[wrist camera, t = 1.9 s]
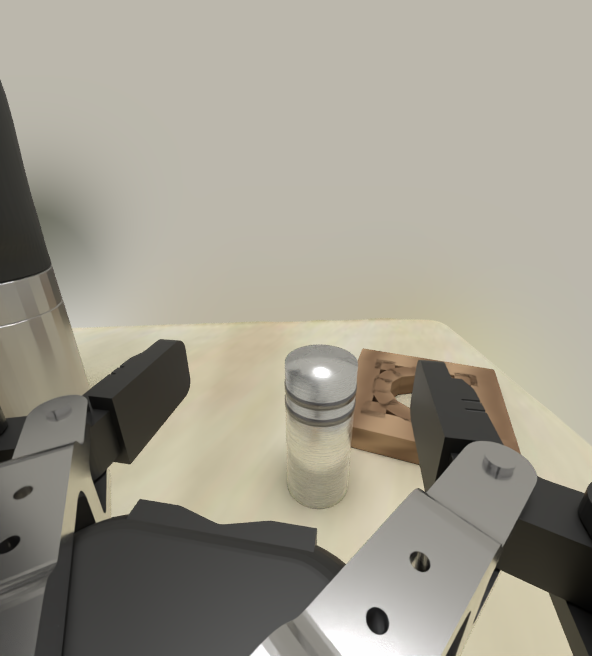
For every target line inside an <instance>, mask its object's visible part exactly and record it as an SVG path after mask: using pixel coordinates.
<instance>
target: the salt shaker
mask: <svg viewBox="0 0 592 656" xmlns="http://www.w3.org/2000/svg"><path fill="white" fill-rule="evenodd" d="M357 371H358V361H357V359H356V358H355V356H354V355H353V354H351V353H350V352H348V351H346V350H344V349H342V348H339V347H335V346H330V345H308V346H304V347H300V348H297V349H295V350H293V351H292V352H290V353H289V354H288V355H287V357H286V359H285V393H286V394H285V407H286V443H287V485H288V489H289V492H290V494H291V495H292V497H293V498H294V499H295V500H296V501H297V502H299V503H300V504H302V505H304V506H306V507H310V508H315V509H324V508H329V507H331V506H334V505H336V504H337V503H339V502H340V501H341V500H342V499H343V497H344V496H345V494H346V491H347V487H348V475H349V464H350V452H351V441H352V429H353V417H354V410H355V402H356V399H355V396H356V391H357Z"/></svg>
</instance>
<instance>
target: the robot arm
mask: <svg viewBox="0 0 592 656" xmlns="http://www.w3.org/2000/svg"><path fill="white" fill-rule="evenodd" d="M189 388H190V374H189V368H188V362H187V356H186V349H185V345H184V343H183V342H182V341H177V340H164V339H160V340H158V341H157V342H155V343H154V344H153V345H152V346H150V347H149V348H148V349H147V350H145V351H144V352H142V353H140V354H138V355H136V356H134V357H131V358H130V359H128V360H127V361H126V362H125V363H123V364H122V365H121V366H120V368H117V369H115V370H114V371H113V372H112V373H111V375H110V374H109V375H108V376H106V377H105V378H104V379H103V380H101V381H100V382H99V383H97V384H96V385H95V386H93V387H92V388H91V389H90V386H89V383H88V379H87V376H86V373H85V370H84V366H83V363H82V360H81V357H80V354H79V350H78V347H77V344H76V341H75V337H74V334H73V331H72V328H71V325H70V321H69V318H68V315H67V312H66V308H65V305H64V302H63V299H62V296H61V293H60V290H59V286H58V283H57V280H56V277H55V273H54V270H53V267H52V265H51V261H50V257H49V254H48V251H47V248H46V245H45V241H44V237H43V234H42V230H41V226H40V223H39V220H38V216H37V213H36V209H35V206H34V203H33V199H32V196H31V192H30V188H29V185H28V181H27V177H26V173H25V169H24V166H23V161H22V157H21V153H20V148H19V144H18V140H17V136H16V132H15V127H14V123H13V119H12V116H11V112H10V109H9V105H8V102H7V98H6V94H5V91H4V89H3V86H2V83H1V81H0V656H461V654H462V652H463V649H464V647H465V645H466V643H467V640H468V638H469V636H470V634H471V632H472V630H473V628H474V626H475V624H476V622H477V620H478V618H479V616H480V614H481V612H482V610H483V608H484V606H485V604H486V602H487V600H488V598H489V596H490V594H491V592H492V590H493V588H494V586H495V584H496V582H497V580H498V577H499V575H500V573H501V571H504V572H506V573H508V574H510V575H512V576H515V577H517V578H519V579H521V580H523V581H525V582H527V583H530V584H532V585H534V586H536V587H538V588H540V589H542V590H545V591H547V592H549V595H550V597H551V600H552V602H553V605H554V607H555V610H556V612H557V615H558V618H559V620H560V623H561V625H562V628H563V630H564V633H565V635H566V638H567V640H568V643H569V646H570V648H571V651H572V653H573V656H592V482H591V483H590V484H589V486H588V488H587V490H586V492H585V493H582V492H579V491H576V490H573V489H570V488H567V487H564V486H562V485H559V484H556V483H553V482H550V481H547V480H545V479H542V478H540V477H538V476H537V474H536V471H535V469H534V467H533V466H532V465H531V463H530V462H529V461H528V460H527V459H526V458H525V457H523V456H522V455H521V454H519V453H518V452H516V451H515V450H513V449H511V448H509V447H507V446H504V444H503V442H502V441H501V439H500V437H499V435H498V433H497V431H496V429H495V427H494V425H493V424H492V422H491V420H490V418H489V416H488V414H487V413H485V409H484V407H483V405H482V403H480V399H479V397H478V395H477V393H476V392H475V390H474V389H473V388H472V387H471V386H470V385H469V384H467V383H466V382H465V381H464V380H463V379H457V378H451V376H450V373H449V371H448V369H447V367H446V364H445V363H444V362H442V361H429V360H418V362H417V366H416V372H415V378H414V384H413V391H412V397H411V405H410V417H411V423H412V428H413V433H414V438H415V443H416V448H417V453H418V458H419V463H420V468H421V473H422V478H423V483H424V488H425V492H424V491H423V490H421V489H419V488H418V489H415V490H414V491H413V492H411V493H410V494H409V495H408V497H407V498H406V499H405V500H404V501H403V502H402V503H401V504H400V505H399V507H398V508H397V509H396V510H395V511H394V512H393V513H392V514H391V515H390V516H389V518H388V519H387V520H386V521H385V522H384V523H383V524H382V525H381V526H380V528H379V529H378V530H377V531H376V532H375V533H374V534H373V535H372V536H371V537H370V539H369V540H368V541H367V542H366V543H365V544H364V545H363V546H362V547H361V549H360V550H359V551H358V552H357V553H356V554H355V555H354V556H353V557H352V559H351V560H350V561H349V562H348V563H347V564H345V563H344V562H342V561H341V560H340V559H339V558H338V557H336V556H335V555H333V554H331V553H330V552H328V551H327V550H325V549H323V548H321V547H319V546H317V528H311V527H305V526H299V525H293V524H287V523H281V522H275V521H261V522H249V523H237V524H217V523H214V522H212V521H210V520H208V519H206V518H204V517H202V516H200V515H198V514H196V513H194V512H192V511H190V510H188V509H186V508H184V507H182V506H179V505H173V504H167V503H161V502H155V501H149V500H143V499H140V500H139V501H138V502H137V504H136V505H135V507H134V508H133V510H132V511H131V512H130V514H128V515H122V516H117V517H112V518H111V474H110V470H109V466H110V465H111V464H112V463H113V462H118V463H125V464H131V463H132V462H133V461H134V459H135V458H136V457H137V456H138V454H139V453H140V452H141V451H142V449H143V448H144V447H145V446H146V445H147V443H148V442H149V441H150V440H151V438H152V437H153V436H154V435H155V433H156V432H157V431H158V430H159V429H160V427H161V426H162V425H163V424H164V422H165V421H166V420H167V419H168V417H169V416H170V415H171V414H172V413H173V411H174V410H175V409H176V408H177V406H178V405H179V404H180V403H181V402H182V400H183V399H184V398H185V397H186V395H187V393H188V391H189Z"/></svg>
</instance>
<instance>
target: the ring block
mask: <svg viewBox="0 0 592 656" xmlns="http://www.w3.org/2000/svg"><path fill="white" fill-rule="evenodd" d="M418 360H429V361H437V360H431V359H424V358H418V357H412V356H406V355H400V354H393V353H387V352H381V351H375V350H369V349H362V351H361V354H360V356H359V359H358V371H357V391H356V396H355V399H356V402H355V410H354V417H353V429H352V441H351V447H353V448H357V449H361V450H365V451H369V452H373V453H376V454H380V455H384V456H388V457H392V458H396V459H400V460H404V461H407V462H411V463H415V464H419V465H420V463H419V458H418V453H417V448H416V443H415V438H414V433H413V428H412V423H411V417H410V408H409V407H407V406H405V405H403V404H402V403H400V402H398V401H397V400H396V399H395V396H397V395H398V394H407V393H412V391H413V384H414V378H415V372H416V366H417V362H418ZM442 362H443V361H442ZM444 363H445V364H446V367H447V369H448V371H449V373H450V376H451V378H457V379H463V380H464V381H465V382H466V383H467V384H469V385H470V386H471V387H472V388H473V389H474V390H475V392H476V393H477V395H478V397H479V399H480V403H482V405H483V407H484V409H485V413H487V414H488V416H489V418H490V420H491V422H492V424H493V425H494V427H495V429H496V431H497V433H498V435H499V437H500V439H501V441H502V442H503V444H504V446H507V447H509V448H511V449H513V450H515V451H516V452H518V453H519V454H521V453H520V450H519V447H518V444H517V440H516V437H515V434H514V431H513V428H512V425H511V422H510V418H509V415H508V412H507V409H506V406H505V403H504V399H503V396H502V393H501V390H500V387H499V384H498V380H497V377H496V374H495V371H494V370H493V369H486V368H480V367H474V366H468V365H462V364H455V363H449V362H444Z"/></svg>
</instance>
